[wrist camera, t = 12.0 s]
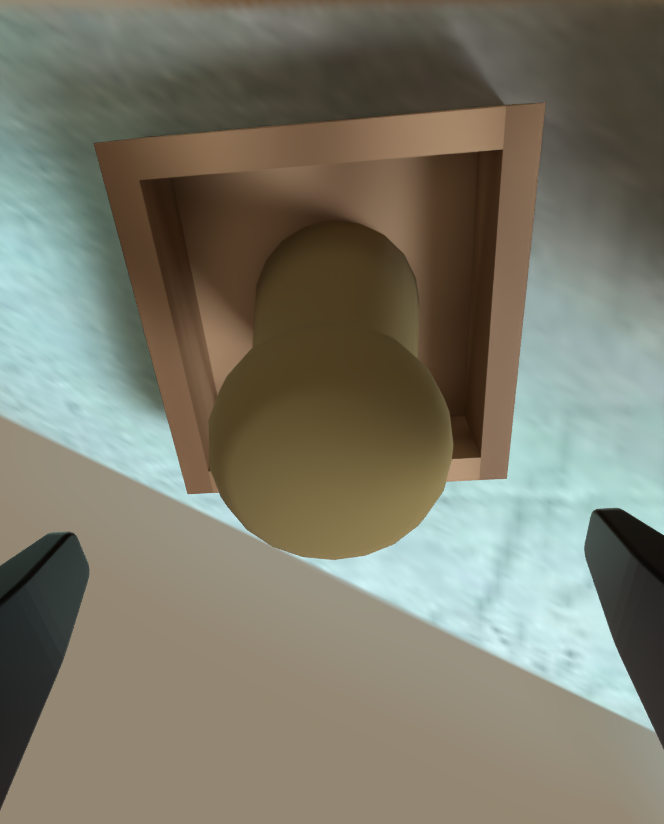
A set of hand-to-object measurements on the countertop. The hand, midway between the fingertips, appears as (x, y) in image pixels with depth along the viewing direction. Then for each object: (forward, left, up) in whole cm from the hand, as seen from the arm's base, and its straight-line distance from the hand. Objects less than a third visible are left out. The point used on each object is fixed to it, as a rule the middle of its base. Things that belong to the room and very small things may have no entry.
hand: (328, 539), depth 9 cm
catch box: (0, 0, -13) cm, 13 cm away
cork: (0, 0, -12) cm, 12 cm away
